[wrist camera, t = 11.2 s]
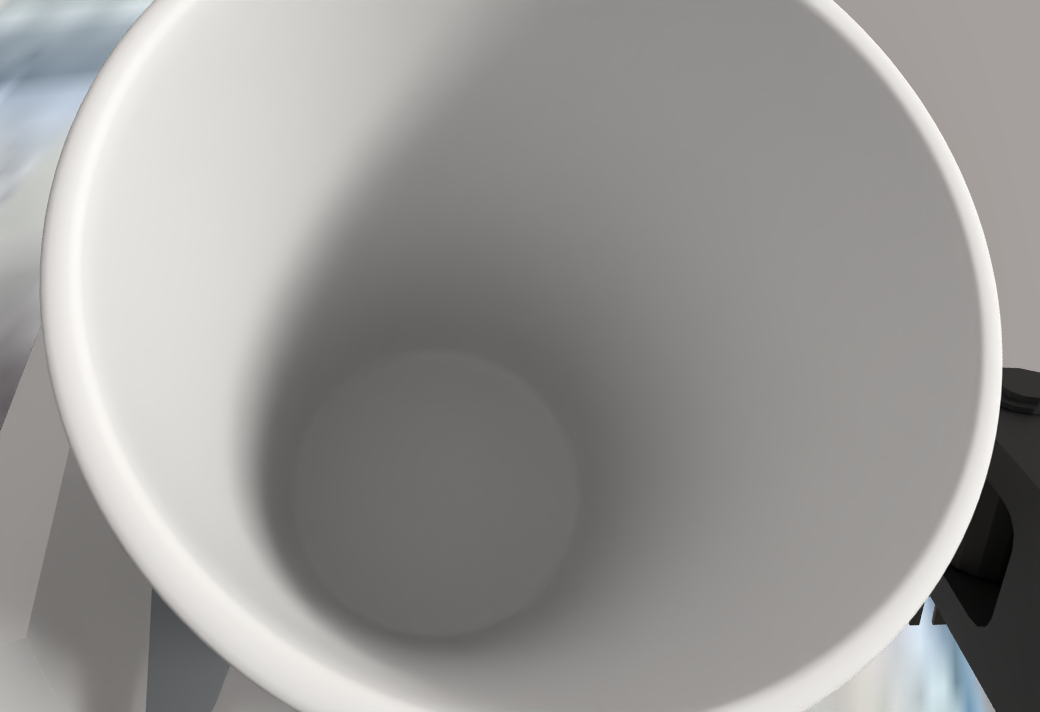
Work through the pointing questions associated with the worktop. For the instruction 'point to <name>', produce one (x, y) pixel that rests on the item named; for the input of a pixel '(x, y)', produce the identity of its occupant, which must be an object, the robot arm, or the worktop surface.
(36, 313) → the worktop surface
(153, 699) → the rubber mat
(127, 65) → the mug
